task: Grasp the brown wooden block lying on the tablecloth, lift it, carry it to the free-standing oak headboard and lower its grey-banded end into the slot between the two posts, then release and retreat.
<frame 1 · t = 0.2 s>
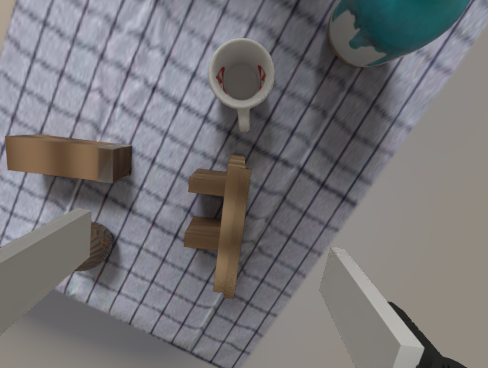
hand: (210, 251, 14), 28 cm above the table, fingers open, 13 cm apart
headboard: (210, 200, 43), on the table
vase 2: (355, 35, 38), on the table
cup: (242, 94, 39), on the table
vase: (99, 235, 44), on the table
brown wooden block: (86, 154, 41), on the table
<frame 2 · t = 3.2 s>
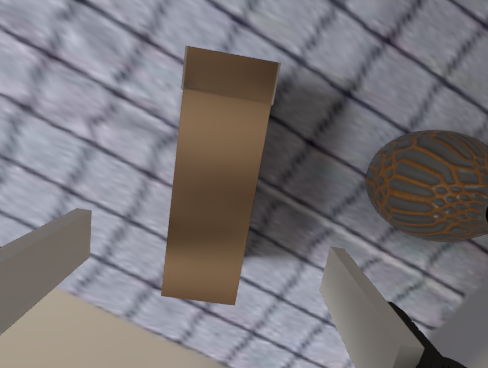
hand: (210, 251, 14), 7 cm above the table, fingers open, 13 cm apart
vase: (394, 173, 21), on the table
brown wooden block: (221, 170, 20), on the table
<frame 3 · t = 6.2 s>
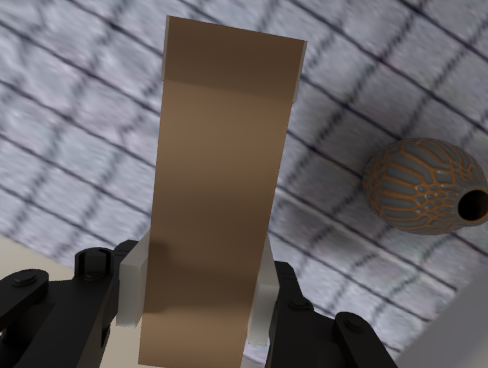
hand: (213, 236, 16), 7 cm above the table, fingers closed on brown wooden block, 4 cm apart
vase: (389, 176, 23), on the table
brown wooden block: (221, 188, 16), point 7 cm above the table, touching gripper
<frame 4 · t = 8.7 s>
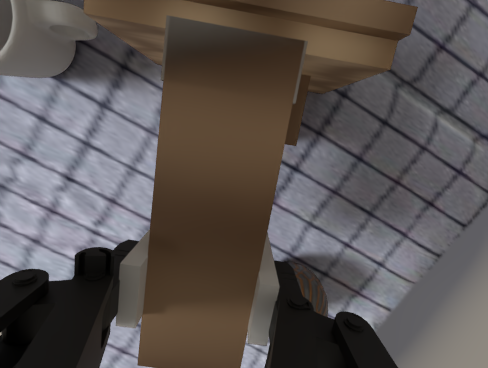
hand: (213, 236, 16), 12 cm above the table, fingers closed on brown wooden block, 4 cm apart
headboard: (237, 106, 26), on the table
cup: (62, 42, 25), on the table
vase: (285, 279, 30), on the table
brown wooden block: (221, 188, 16), point 11 cm above the table, touching gripper
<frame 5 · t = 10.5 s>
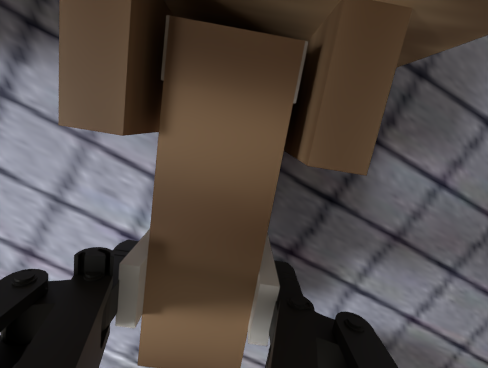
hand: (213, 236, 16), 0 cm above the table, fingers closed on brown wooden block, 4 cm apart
headboard: (234, 93, 15), on the table
brown wooden block: (221, 188, 16), on the table, touching gripper
when the fingers open (0 cm above the table, at t = 11.4 s): brown wooden block stays where it is, on the table.
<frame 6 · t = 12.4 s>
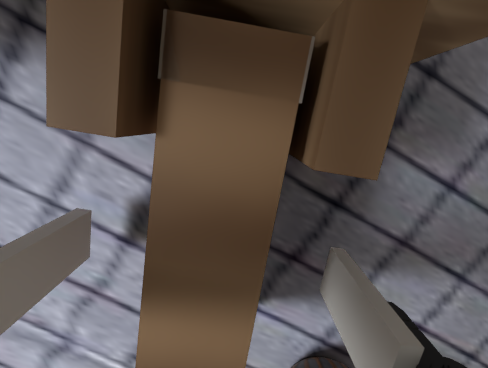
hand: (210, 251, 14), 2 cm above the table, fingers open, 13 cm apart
headboard: (235, 93, 14), on the table
brown wooden block: (222, 191, 15), on the table
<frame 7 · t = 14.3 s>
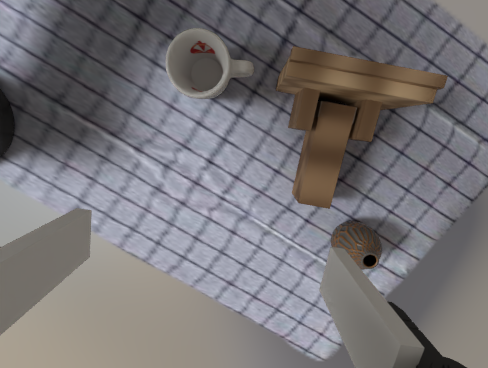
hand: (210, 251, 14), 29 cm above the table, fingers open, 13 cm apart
headboard: (323, 117, 40), on the table
cup: (217, 76, 40), on the table
vase: (346, 234, 45), on the table
brown wooden block: (315, 152, 42), on the table
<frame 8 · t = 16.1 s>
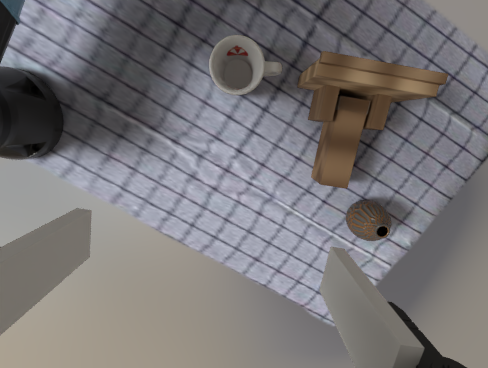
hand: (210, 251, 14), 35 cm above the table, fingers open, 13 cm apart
headboard: (338, 110, 46), on the table
cup: (246, 75, 45), on the table
vase: (358, 213, 51), on the table
brown wooden block: (331, 141, 48), on the table
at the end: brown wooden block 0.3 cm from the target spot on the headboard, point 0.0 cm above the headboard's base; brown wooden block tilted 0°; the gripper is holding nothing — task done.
